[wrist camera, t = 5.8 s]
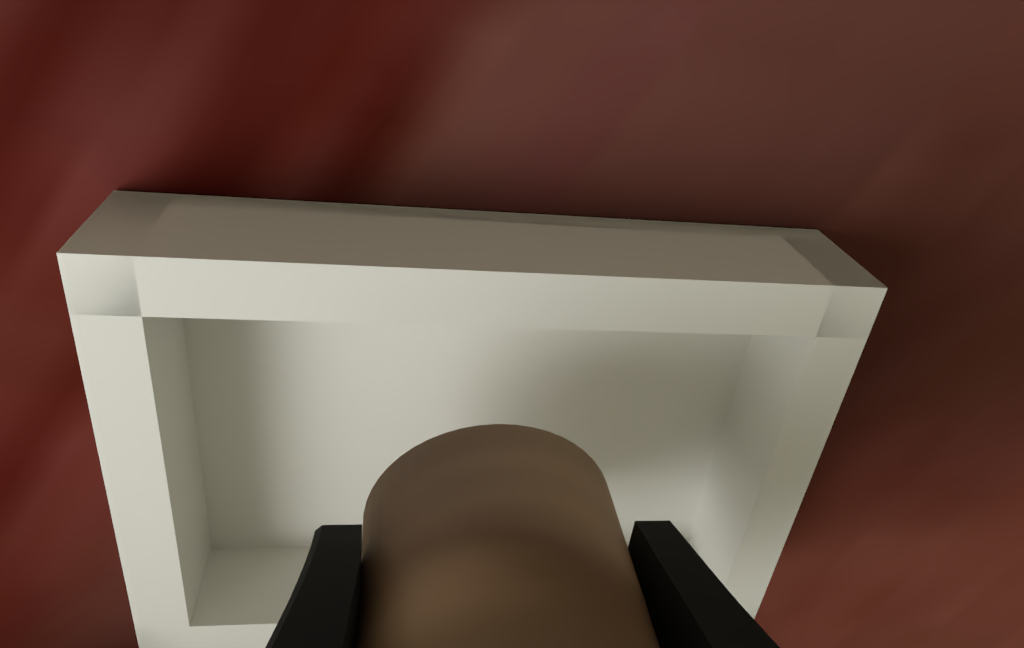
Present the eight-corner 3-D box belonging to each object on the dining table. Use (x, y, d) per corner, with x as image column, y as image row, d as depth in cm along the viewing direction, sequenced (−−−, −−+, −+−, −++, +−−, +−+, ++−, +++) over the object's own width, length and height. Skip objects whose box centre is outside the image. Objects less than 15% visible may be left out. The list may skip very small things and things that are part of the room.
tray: (173, 564, 17) (141, 661, 15) (114, 190, 13) (56, 253, 11) (709, 552, 19) (747, 636, 17) (817, 229, 15) (887, 288, 13)
